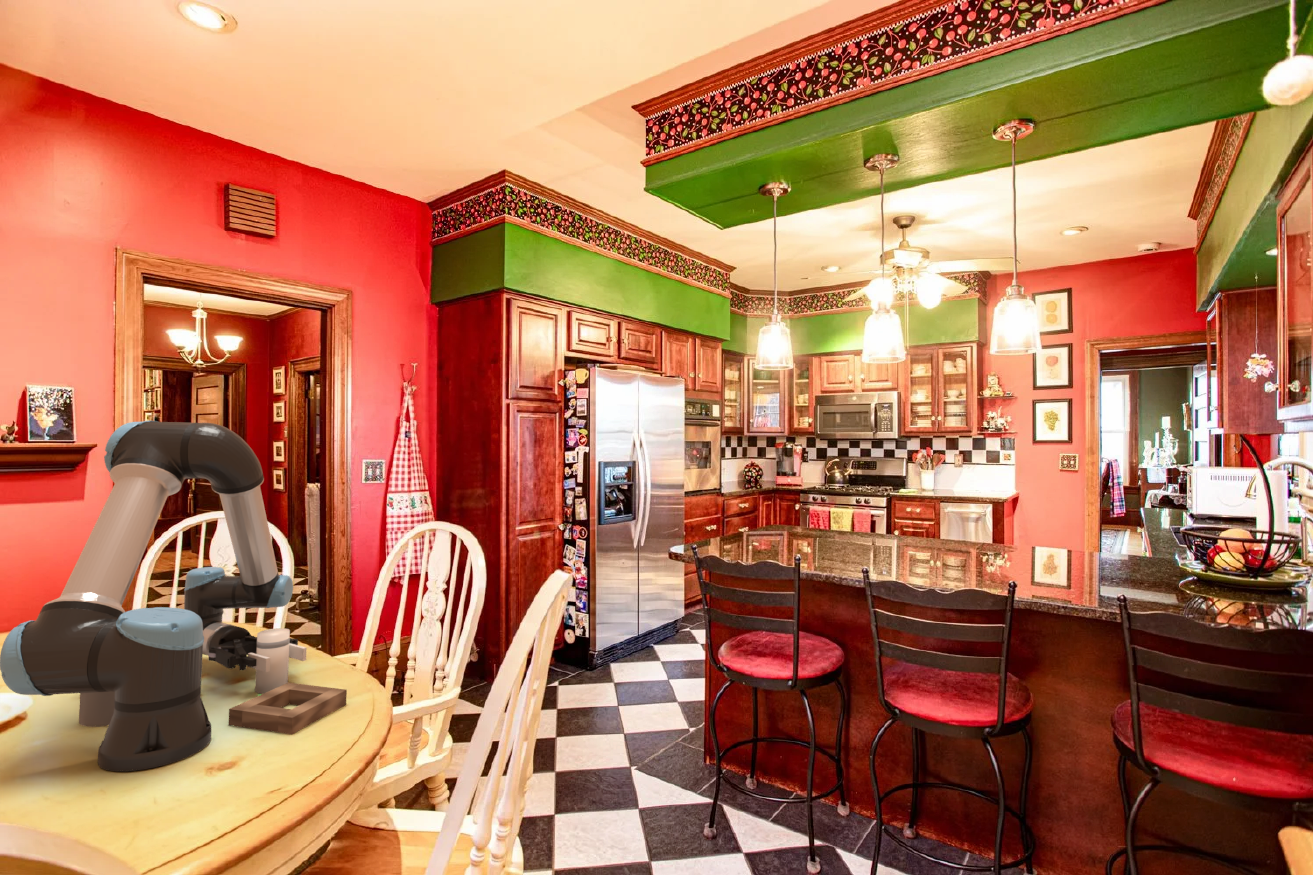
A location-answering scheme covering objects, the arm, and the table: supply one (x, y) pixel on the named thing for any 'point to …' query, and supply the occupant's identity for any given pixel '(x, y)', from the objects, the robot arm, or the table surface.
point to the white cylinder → (273, 659)
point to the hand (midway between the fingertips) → (286, 659)
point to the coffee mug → (96, 708)
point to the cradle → (273, 717)
